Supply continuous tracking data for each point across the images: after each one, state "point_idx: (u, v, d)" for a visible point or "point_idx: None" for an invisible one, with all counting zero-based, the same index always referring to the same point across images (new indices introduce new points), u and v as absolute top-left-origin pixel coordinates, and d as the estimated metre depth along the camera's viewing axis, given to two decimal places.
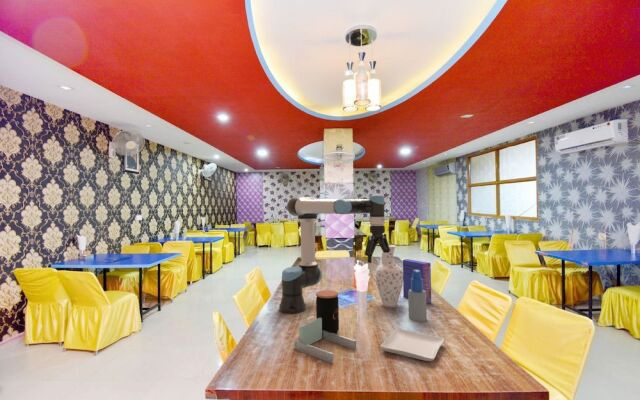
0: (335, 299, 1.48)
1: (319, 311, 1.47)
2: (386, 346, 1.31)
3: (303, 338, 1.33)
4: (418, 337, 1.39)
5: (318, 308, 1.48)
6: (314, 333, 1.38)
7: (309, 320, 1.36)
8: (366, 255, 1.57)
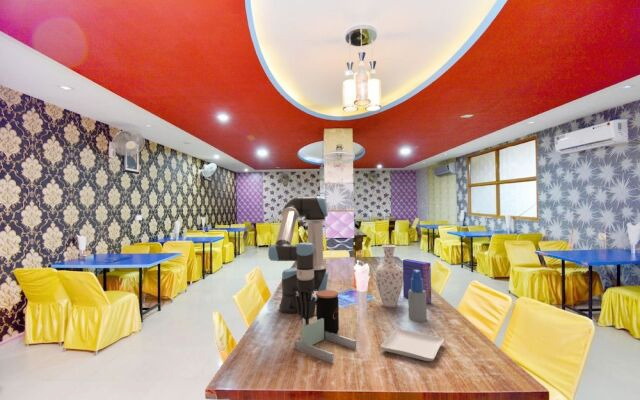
0: (335, 299, 1.48)
1: (319, 311, 1.47)
2: (386, 346, 1.31)
3: (305, 339, 1.32)
4: (418, 337, 1.39)
5: (318, 308, 1.48)
6: (316, 334, 1.38)
7: (311, 321, 1.35)
8: None
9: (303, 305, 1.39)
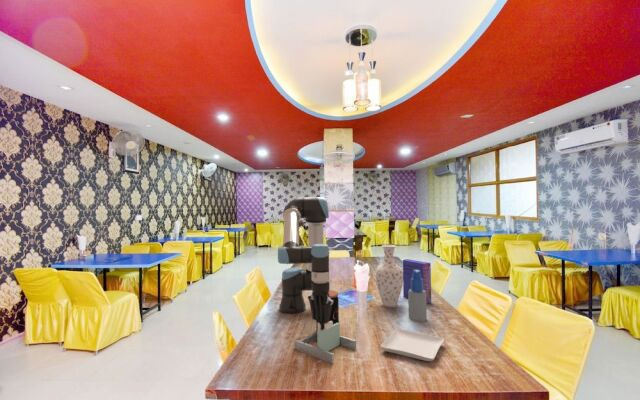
0: (335, 299, 1.48)
1: None
2: (386, 346, 1.31)
3: (321, 345, 1.27)
4: (418, 337, 1.39)
5: None
6: (332, 339, 1.32)
7: (327, 326, 1.30)
8: None
9: (318, 309, 1.34)
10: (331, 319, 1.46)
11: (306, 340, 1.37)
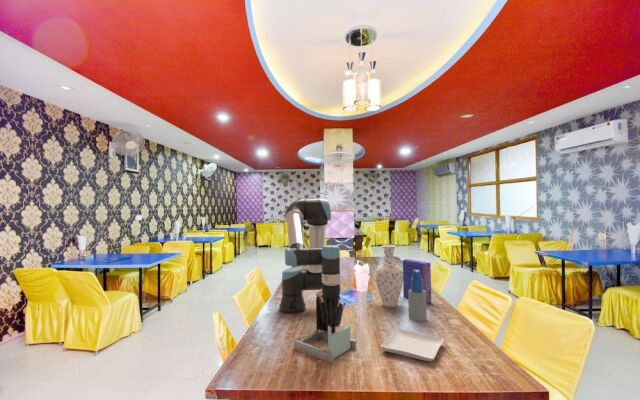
0: None
1: (319, 311, 1.47)
2: (386, 346, 1.31)
3: (332, 349, 1.23)
4: (418, 337, 1.39)
5: (318, 308, 1.48)
6: (343, 343, 1.28)
7: (338, 329, 1.26)
8: (331, 323, 1.32)
9: (328, 312, 1.30)
10: None
11: (306, 340, 1.37)
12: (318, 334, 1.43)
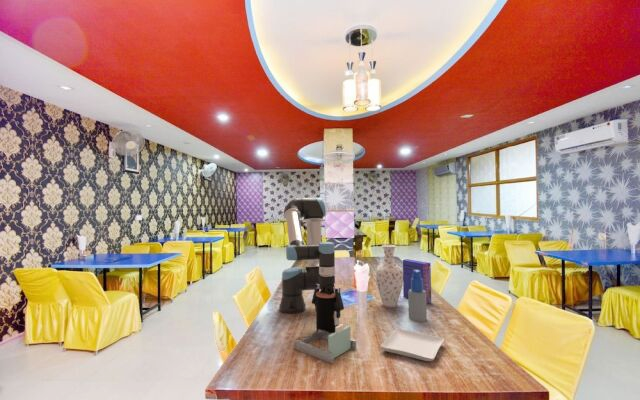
0: (335, 299, 1.48)
1: (319, 311, 1.47)
2: (386, 346, 1.31)
3: (332, 349, 1.23)
4: (418, 337, 1.39)
5: (318, 308, 1.48)
6: (343, 343, 1.28)
7: (338, 329, 1.26)
8: None
9: None
10: (331, 319, 1.46)
11: (306, 340, 1.37)
12: (318, 334, 1.43)
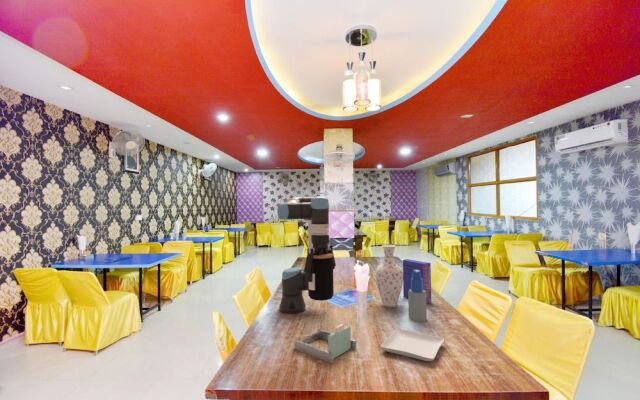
0: None
1: (329, 273, 1.30)
2: (386, 346, 1.31)
3: (332, 349, 1.23)
4: (418, 337, 1.39)
5: (328, 271, 1.30)
6: (343, 343, 1.28)
7: (338, 329, 1.26)
8: None
9: None
10: None
11: (306, 340, 1.37)
12: (318, 334, 1.43)
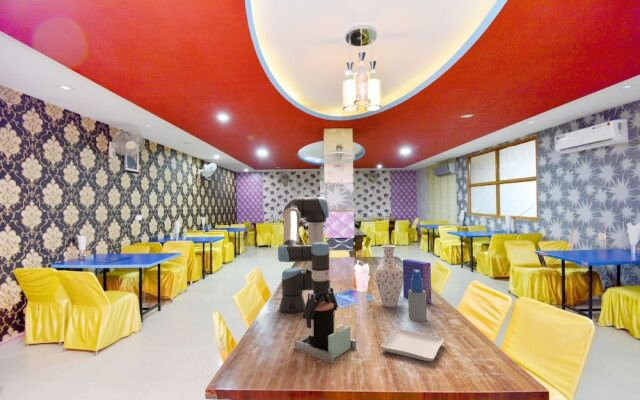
0: None
1: (330, 325, 1.30)
2: (386, 346, 1.31)
3: (332, 349, 1.23)
4: (418, 337, 1.39)
5: (329, 322, 1.30)
6: (343, 343, 1.28)
7: (338, 329, 1.26)
8: None
9: None
10: None
11: (306, 340, 1.37)
12: None
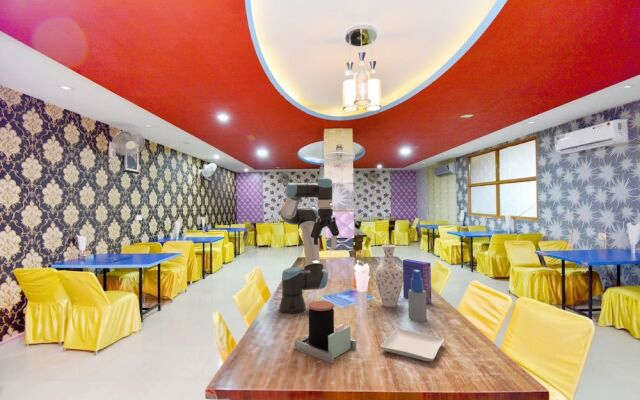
0: None
1: (330, 325, 1.30)
2: (386, 346, 1.31)
3: (332, 349, 1.23)
4: (418, 337, 1.39)
5: (329, 322, 1.30)
6: (343, 343, 1.28)
7: (338, 329, 1.26)
8: (312, 237, 1.58)
9: None
10: None
11: (306, 340, 1.37)
12: None
